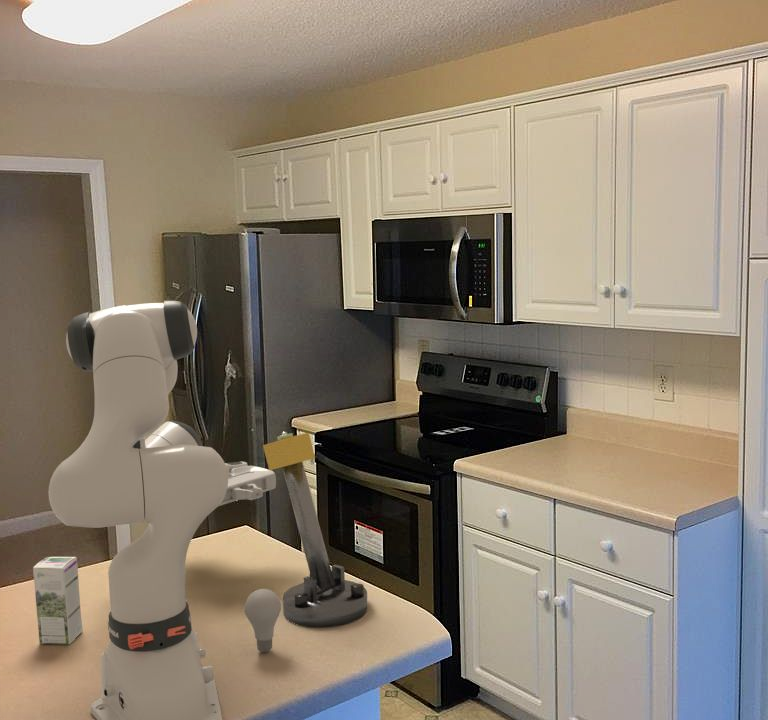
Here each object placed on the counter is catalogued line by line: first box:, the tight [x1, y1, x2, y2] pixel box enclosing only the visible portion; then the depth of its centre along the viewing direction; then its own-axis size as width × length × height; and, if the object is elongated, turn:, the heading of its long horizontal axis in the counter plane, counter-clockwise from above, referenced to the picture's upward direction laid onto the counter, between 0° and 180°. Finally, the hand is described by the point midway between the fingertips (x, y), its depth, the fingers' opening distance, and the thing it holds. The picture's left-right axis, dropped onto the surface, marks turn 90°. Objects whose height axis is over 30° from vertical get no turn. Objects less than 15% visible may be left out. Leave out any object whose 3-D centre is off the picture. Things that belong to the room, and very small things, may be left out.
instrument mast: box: [262, 431, 339, 595], centre depth 166 cm, size 8×6×31 cm
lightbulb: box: [244, 588, 282, 654], centre depth 148 cm, size 6×6×11 cm
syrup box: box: [32, 556, 83, 646], centre depth 155 cm, size 6×6×14 cm
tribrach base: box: [282, 564, 368, 629], centre depth 165 cm, size 16×16×7 cm
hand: (257, 494), depth 174 cm, fingers closed
